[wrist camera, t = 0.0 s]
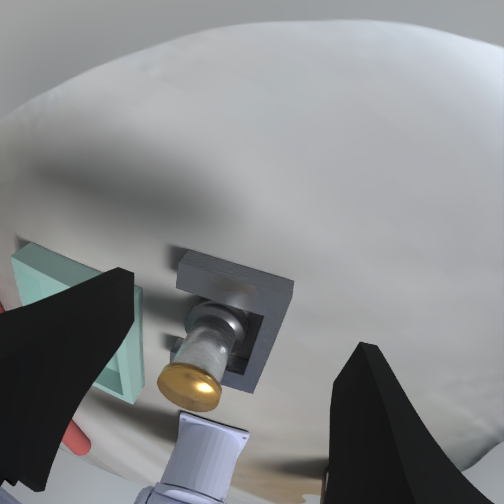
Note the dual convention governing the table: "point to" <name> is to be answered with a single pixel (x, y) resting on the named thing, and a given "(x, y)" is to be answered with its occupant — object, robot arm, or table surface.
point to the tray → (70, 274)
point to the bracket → (240, 296)
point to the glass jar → (203, 355)
